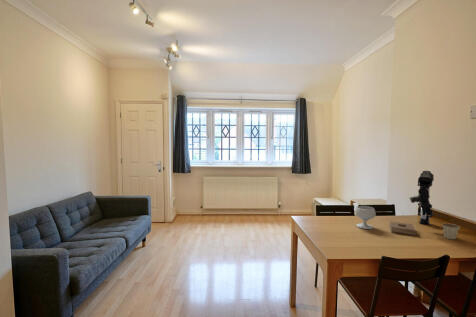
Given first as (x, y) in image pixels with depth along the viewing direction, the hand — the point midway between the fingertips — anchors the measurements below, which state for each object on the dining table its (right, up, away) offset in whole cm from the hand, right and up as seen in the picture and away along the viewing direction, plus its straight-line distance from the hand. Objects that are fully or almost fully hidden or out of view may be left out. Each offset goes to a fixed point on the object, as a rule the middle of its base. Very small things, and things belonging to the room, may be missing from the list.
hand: (423, 214), depth 178 cm
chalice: (-39, -12, +8) cm, 42 cm away
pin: (0, -3, 0) cm, 3 cm away
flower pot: (+7, -13, -15) cm, 21 cm away
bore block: (-17, -12, -1) cm, 21 cm away
